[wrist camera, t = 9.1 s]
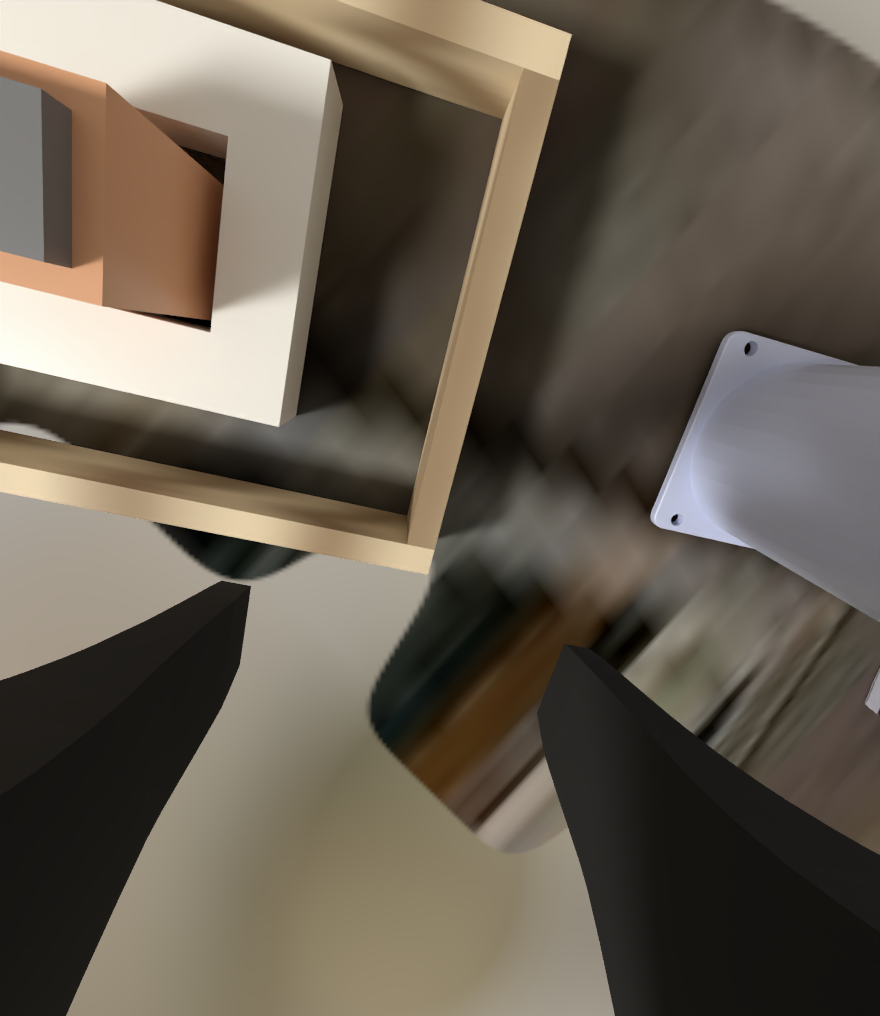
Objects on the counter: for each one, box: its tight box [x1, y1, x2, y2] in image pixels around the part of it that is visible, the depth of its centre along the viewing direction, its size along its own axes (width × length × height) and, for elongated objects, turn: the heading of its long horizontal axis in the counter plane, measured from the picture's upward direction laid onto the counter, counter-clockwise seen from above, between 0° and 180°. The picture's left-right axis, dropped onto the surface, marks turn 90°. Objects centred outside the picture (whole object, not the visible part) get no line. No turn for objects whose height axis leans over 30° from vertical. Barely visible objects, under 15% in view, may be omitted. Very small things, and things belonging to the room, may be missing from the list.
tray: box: [0, 0, 572, 575], centre depth 15 cm, size 20×16×3 cm
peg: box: [0, 50, 224, 320], centre depth 12 cm, size 4×4×8 cm
